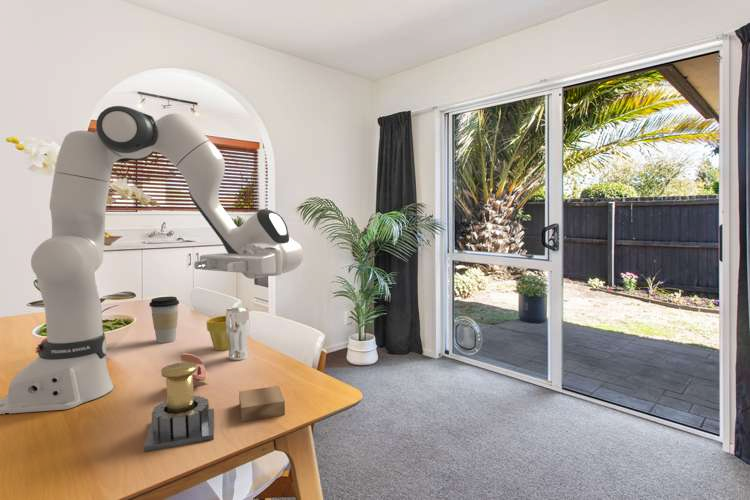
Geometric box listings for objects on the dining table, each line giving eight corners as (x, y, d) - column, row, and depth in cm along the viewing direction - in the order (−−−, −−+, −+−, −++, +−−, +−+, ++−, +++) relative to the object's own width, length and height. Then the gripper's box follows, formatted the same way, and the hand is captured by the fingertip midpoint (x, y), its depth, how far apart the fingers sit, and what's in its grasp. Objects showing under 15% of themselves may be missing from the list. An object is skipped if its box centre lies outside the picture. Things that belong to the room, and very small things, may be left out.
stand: (241, 421, 89) (241, 407, 89) (239, 404, 97) (239, 391, 97) (284, 414, 92) (284, 401, 92) (279, 398, 100) (278, 385, 100)
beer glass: (243, 361, 126) (241, 312, 125) (222, 360, 127) (220, 311, 126) (254, 354, 133) (253, 307, 131) (234, 353, 134) (232, 306, 133)
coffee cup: (172, 344, 143) (170, 301, 142) (145, 344, 143) (143, 301, 142) (185, 336, 153) (183, 296, 151) (159, 336, 153) (157, 296, 152)
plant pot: (200, 350, 137) (199, 320, 136) (223, 341, 146) (222, 314, 146) (225, 354, 133) (224, 323, 132) (247, 345, 142) (246, 316, 142)
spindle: (158, 434, 82) (155, 374, 81) (172, 418, 88) (169, 362, 87) (191, 433, 82) (189, 373, 81) (203, 417, 88) (201, 362, 88)
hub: (143, 451, 78) (142, 425, 77) (153, 422, 89) (151, 399, 88) (213, 439, 82) (212, 414, 81) (214, 412, 93) (213, 390, 93)
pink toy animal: (156, 395, 104) (166, 359, 110) (195, 404, 109) (202, 369, 116) (173, 382, 99) (183, 346, 105) (213, 392, 105) (220, 357, 111)
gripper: (225, 247, 112) (179, 251, 99) (285, 249, 102) (242, 254, 90) (226, 270, 112) (180, 277, 100) (286, 275, 102) (243, 283, 90)
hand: (210, 266), depth 95 cm, fingers open, 8 cm apart
